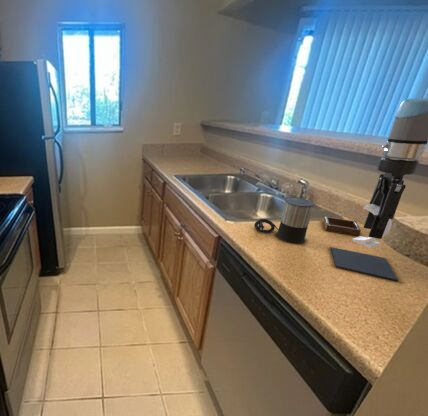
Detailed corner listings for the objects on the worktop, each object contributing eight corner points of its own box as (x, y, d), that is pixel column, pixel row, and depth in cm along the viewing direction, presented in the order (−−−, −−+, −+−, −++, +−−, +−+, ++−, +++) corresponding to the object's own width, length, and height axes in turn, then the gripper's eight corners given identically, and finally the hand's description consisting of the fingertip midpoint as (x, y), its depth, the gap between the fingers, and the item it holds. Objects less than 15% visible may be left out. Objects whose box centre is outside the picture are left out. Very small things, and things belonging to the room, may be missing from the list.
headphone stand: (360, 238, 89) (372, 203, 85) (383, 246, 84) (398, 210, 80) (351, 240, 88) (363, 205, 83) (374, 249, 82) (389, 212, 78)
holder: (354, 226, 113) (356, 221, 112) (358, 236, 105) (360, 230, 104) (323, 221, 118) (325, 216, 117) (325, 230, 110) (327, 224, 109)
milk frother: (310, 244, 100) (321, 206, 94) (263, 241, 102) (271, 204, 97) (291, 228, 113) (300, 193, 107) (250, 225, 115) (257, 192, 110)
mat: (384, 259, 90) (385, 257, 90) (397, 281, 79) (398, 279, 79) (330, 248, 97) (331, 247, 97) (335, 267, 86) (336, 265, 86)
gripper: (373, 151, 85) (350, 219, 94) (391, 163, 70) (362, 242, 78) (407, 153, 81) (380, 224, 90) (434, 166, 66) (398, 249, 75)
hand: (371, 232), depth 84 cm, fingers closed on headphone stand, 6 cm apart
